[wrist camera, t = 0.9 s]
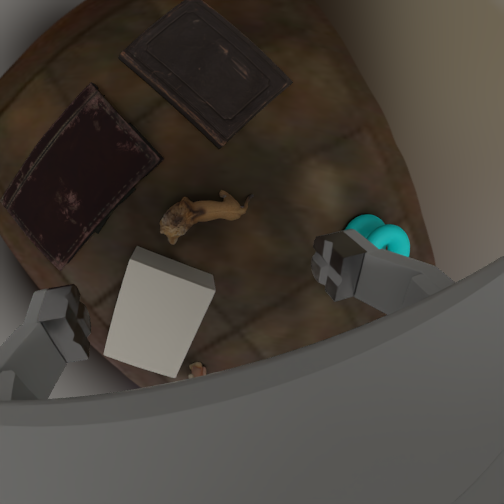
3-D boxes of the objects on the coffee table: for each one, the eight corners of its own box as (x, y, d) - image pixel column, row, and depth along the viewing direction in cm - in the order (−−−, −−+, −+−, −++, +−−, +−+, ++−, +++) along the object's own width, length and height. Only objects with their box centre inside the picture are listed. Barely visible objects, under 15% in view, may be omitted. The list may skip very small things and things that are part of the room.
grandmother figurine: (213, 375, 59) (220, 420, 47) (198, 382, 58) (201, 426, 47) (195, 352, 56) (198, 398, 44) (179, 359, 56) (179, 405, 44)
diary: (11, 193, 39) (-4, 198, 34) (97, 85, 37) (87, 79, 32) (73, 264, 45) (62, 275, 41) (168, 162, 43) (164, 163, 39)
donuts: (381, 218, 42) (420, 237, 44) (350, 205, 51) (389, 221, 54) (356, 277, 44) (398, 288, 47) (331, 255, 54) (370, 267, 56)
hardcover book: (193, -1, 34) (193, -7, 32) (288, 84, 42) (293, 82, 40) (120, 60, 36) (117, 56, 34) (218, 149, 44) (219, 149, 42)
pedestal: (213, 275, 51) (215, 290, 45) (175, 358, 55) (175, 378, 50) (137, 245, 46) (129, 258, 41) (110, 335, 51) (103, 354, 45)
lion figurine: (169, 233, 47) (164, 252, 38) (159, 202, 45) (151, 215, 36) (256, 209, 48) (269, 222, 40) (248, 177, 46) (260, 184, 38)
